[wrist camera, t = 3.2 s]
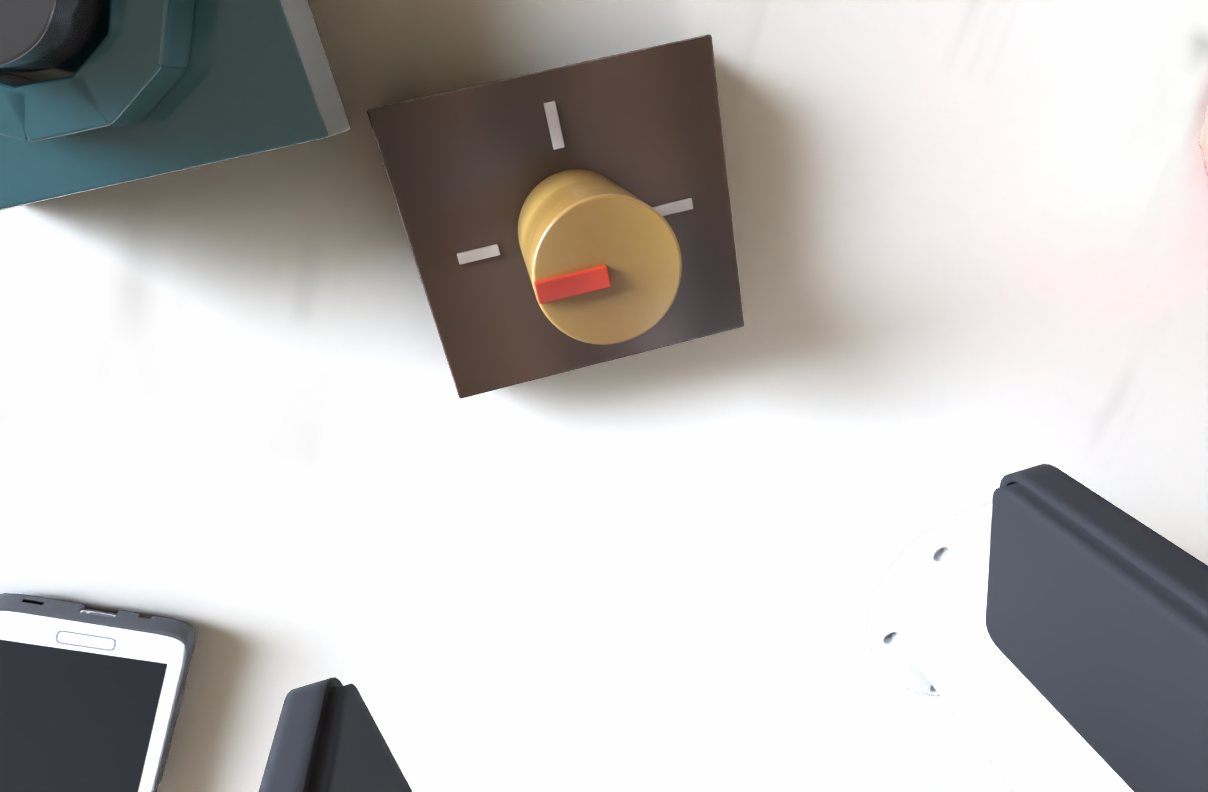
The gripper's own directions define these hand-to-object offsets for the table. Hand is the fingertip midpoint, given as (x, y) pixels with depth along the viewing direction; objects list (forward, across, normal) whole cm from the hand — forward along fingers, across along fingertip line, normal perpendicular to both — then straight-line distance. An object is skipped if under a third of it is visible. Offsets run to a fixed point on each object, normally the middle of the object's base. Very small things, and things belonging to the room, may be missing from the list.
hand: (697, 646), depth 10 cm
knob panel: (+19, -1, -2) cm, 19 cm away
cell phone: (+19, +25, +14) cm, 35 cm away
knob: (+16, -1, -2) cm, 16 cm away
